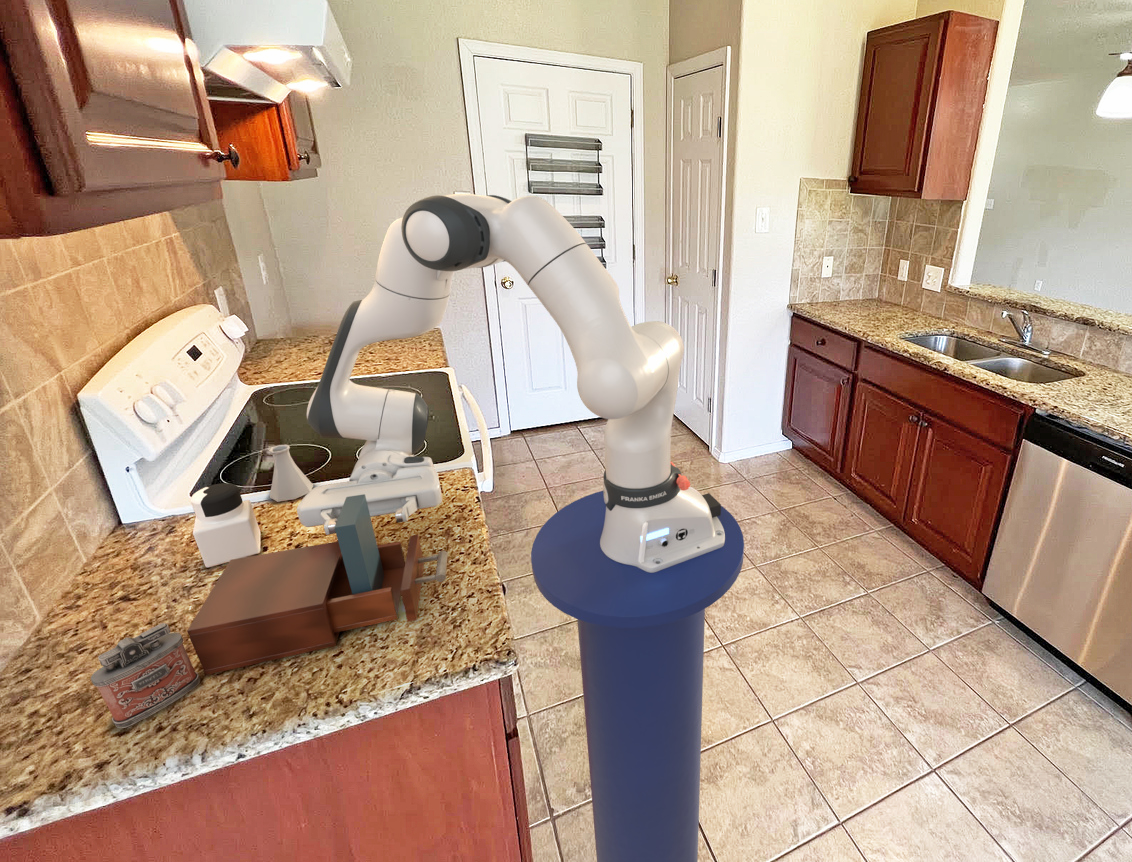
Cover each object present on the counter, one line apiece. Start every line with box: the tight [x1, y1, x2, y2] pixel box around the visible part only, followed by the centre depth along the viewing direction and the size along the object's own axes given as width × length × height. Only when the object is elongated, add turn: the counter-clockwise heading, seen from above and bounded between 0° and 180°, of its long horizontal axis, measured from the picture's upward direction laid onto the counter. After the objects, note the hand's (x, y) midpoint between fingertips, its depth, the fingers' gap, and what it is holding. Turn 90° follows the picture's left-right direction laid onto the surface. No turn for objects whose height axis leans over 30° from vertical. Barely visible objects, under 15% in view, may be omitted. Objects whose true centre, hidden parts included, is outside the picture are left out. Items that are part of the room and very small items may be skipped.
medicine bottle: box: [189, 482, 261, 568], centre depth 95 cm, size 7×7×12 cm
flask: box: [268, 443, 314, 502], centre depth 112 cm, size 7×7×10 cm
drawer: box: [326, 534, 449, 633], centre depth 86 cm, size 18×13×6 cm
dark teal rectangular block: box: [335, 494, 384, 595], centre depth 83 cm, size 2×8×15 cm, turn 21°
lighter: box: [90, 622, 201, 729], centre depth 69 cm, size 8×3×10 cm, turn 151°
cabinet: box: [186, 541, 342, 676], centre depth 82 cm, size 15×15×8 cm
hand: (366, 524), depth 87 cm, fingers open, 8 cm apart
